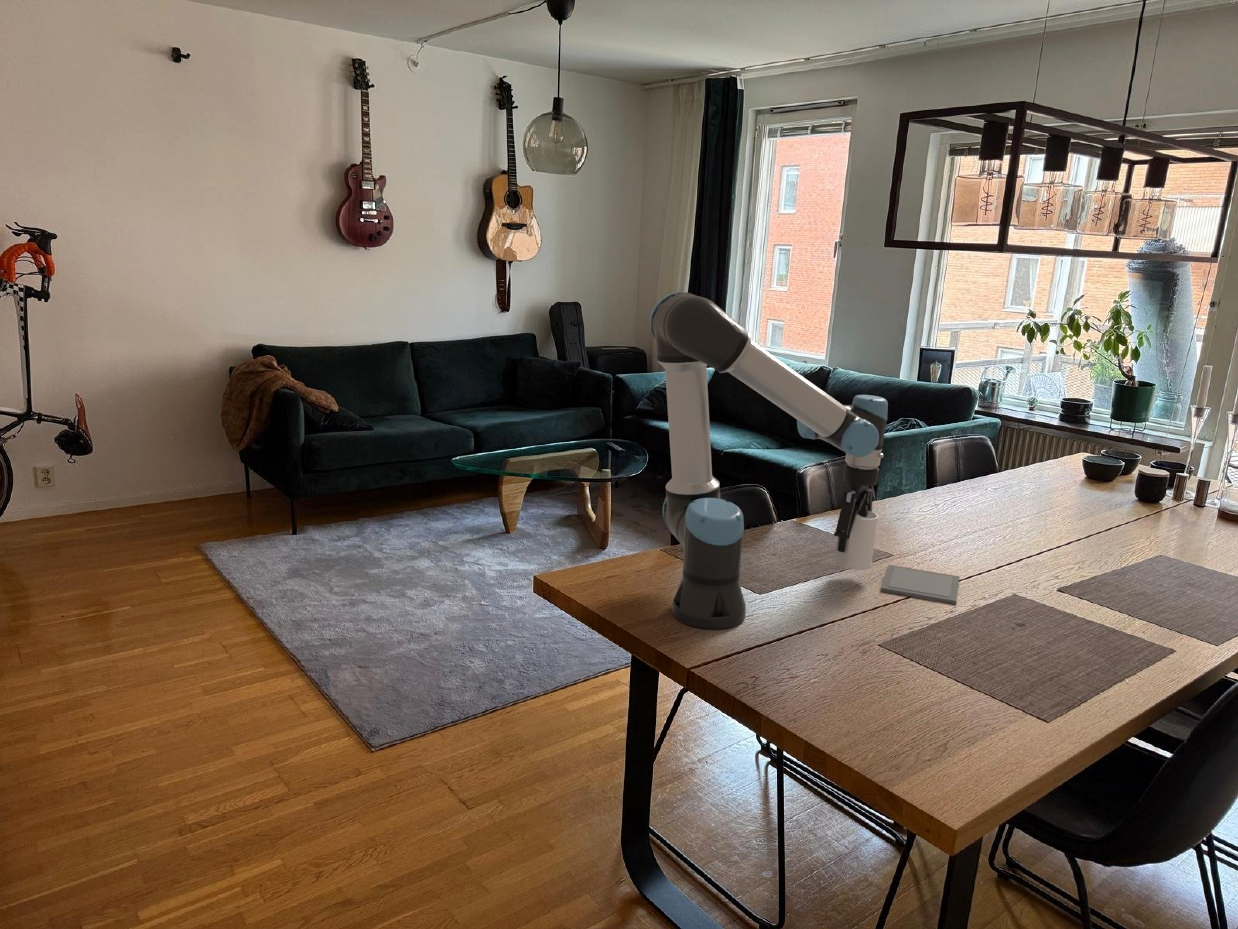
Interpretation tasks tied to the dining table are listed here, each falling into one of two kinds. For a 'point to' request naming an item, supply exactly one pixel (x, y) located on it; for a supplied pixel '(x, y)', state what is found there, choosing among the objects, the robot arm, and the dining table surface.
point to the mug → (862, 542)
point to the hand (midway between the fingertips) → (849, 557)
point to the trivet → (921, 584)
